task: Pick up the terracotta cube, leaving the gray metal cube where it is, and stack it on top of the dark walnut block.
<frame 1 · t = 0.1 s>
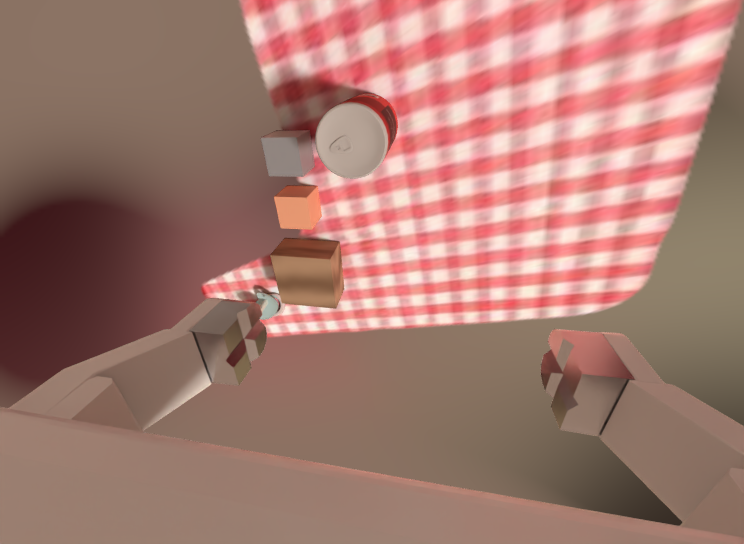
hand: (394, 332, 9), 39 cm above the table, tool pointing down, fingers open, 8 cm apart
terracotta cube: (305, 200, 50), on the table
walnut block: (315, 263, 57), on the table
pacifier: (272, 301, 65), on the table
gray metal cube: (296, 148, 46), on the table
canned food: (369, 125, 42), on the table
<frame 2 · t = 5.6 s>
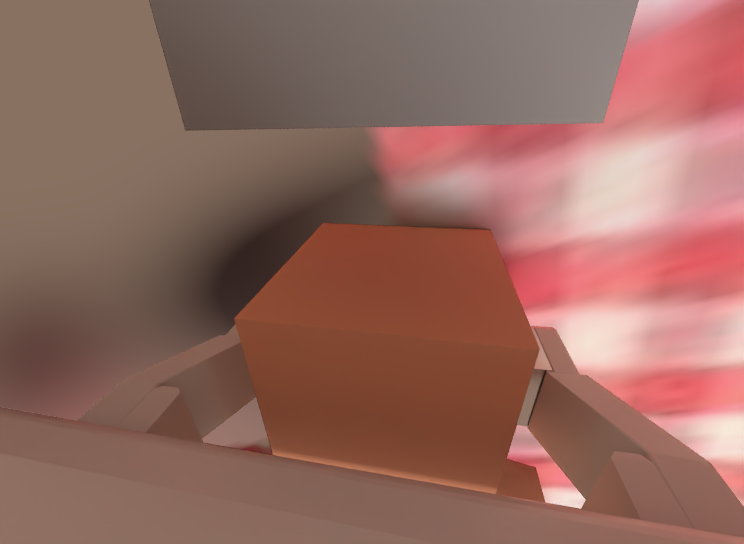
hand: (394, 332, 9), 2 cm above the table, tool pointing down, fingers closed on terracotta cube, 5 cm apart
terracotta cube: (401, 296, 11), on the table, touching gripper
walnut block: (396, 486, 16), on the table
when the fingers open (9 cm above the table, at t = 11.7 s): terracotta cube drops 2 cm, resting on walnut block.
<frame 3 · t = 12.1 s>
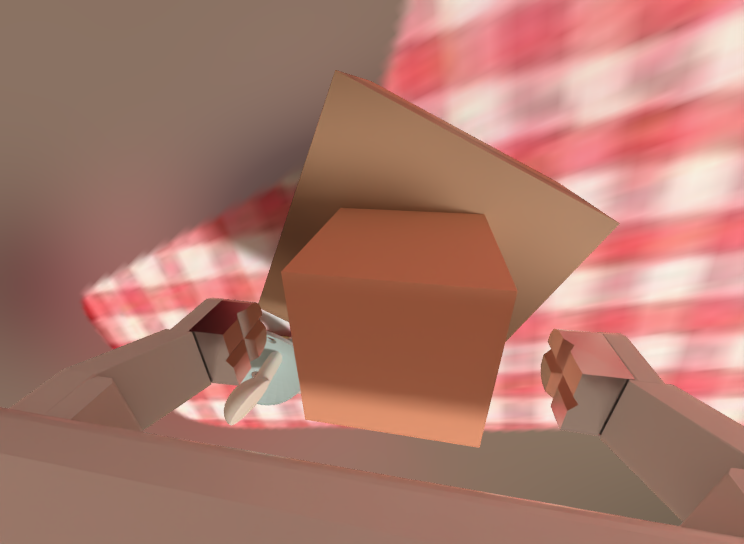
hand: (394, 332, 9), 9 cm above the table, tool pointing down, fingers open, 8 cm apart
terracotta cube: (406, 273, 12), point 6 cm above the table, touching walnut block
walnut block: (415, 221, 17), on the table, touching terracotta cube
pacifier: (293, 354, 24), on the table
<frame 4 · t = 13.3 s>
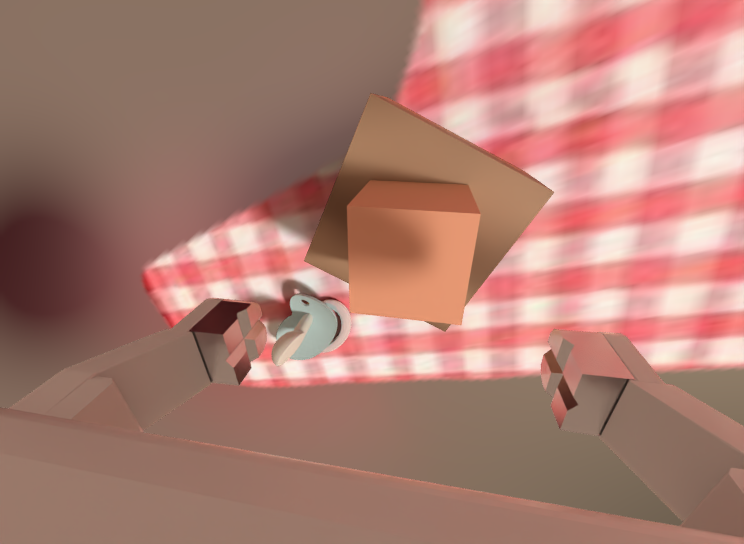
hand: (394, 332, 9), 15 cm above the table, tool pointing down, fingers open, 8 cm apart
terracotta cube: (414, 228, 17), point 6 cm above the table
walnut block: (418, 202, 23), on the table
pacifier: (320, 318, 29), on the table
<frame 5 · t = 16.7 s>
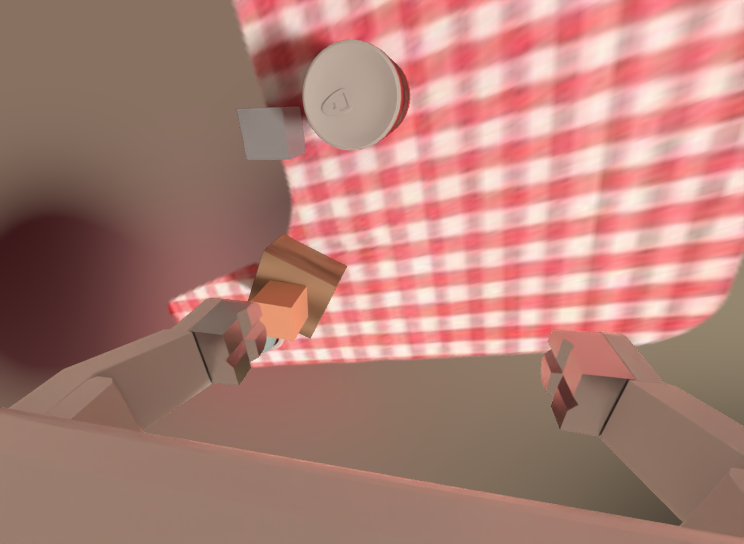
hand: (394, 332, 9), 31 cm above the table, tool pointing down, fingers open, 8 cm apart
terracotta cube: (289, 298, 42), point 6 cm above the table, touching walnut block
walnut block: (304, 275, 47), on the table, touching terracotta cube
pacifier: (269, 331, 54), on the table
gray metal cube: (283, 130, 37), on the table
canned food: (374, 99, 34), on the table
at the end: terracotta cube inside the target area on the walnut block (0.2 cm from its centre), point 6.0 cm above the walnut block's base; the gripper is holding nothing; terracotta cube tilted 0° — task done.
